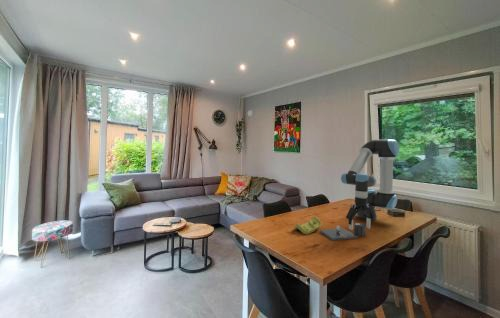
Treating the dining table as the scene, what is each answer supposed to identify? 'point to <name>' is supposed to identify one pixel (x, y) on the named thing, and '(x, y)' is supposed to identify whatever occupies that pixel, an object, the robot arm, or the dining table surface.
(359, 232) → the knob
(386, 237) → the dining table surface
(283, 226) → the dining table surface
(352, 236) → the hub plate
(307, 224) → the plastic component
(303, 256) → the dining table surface
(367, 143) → the robot arm
